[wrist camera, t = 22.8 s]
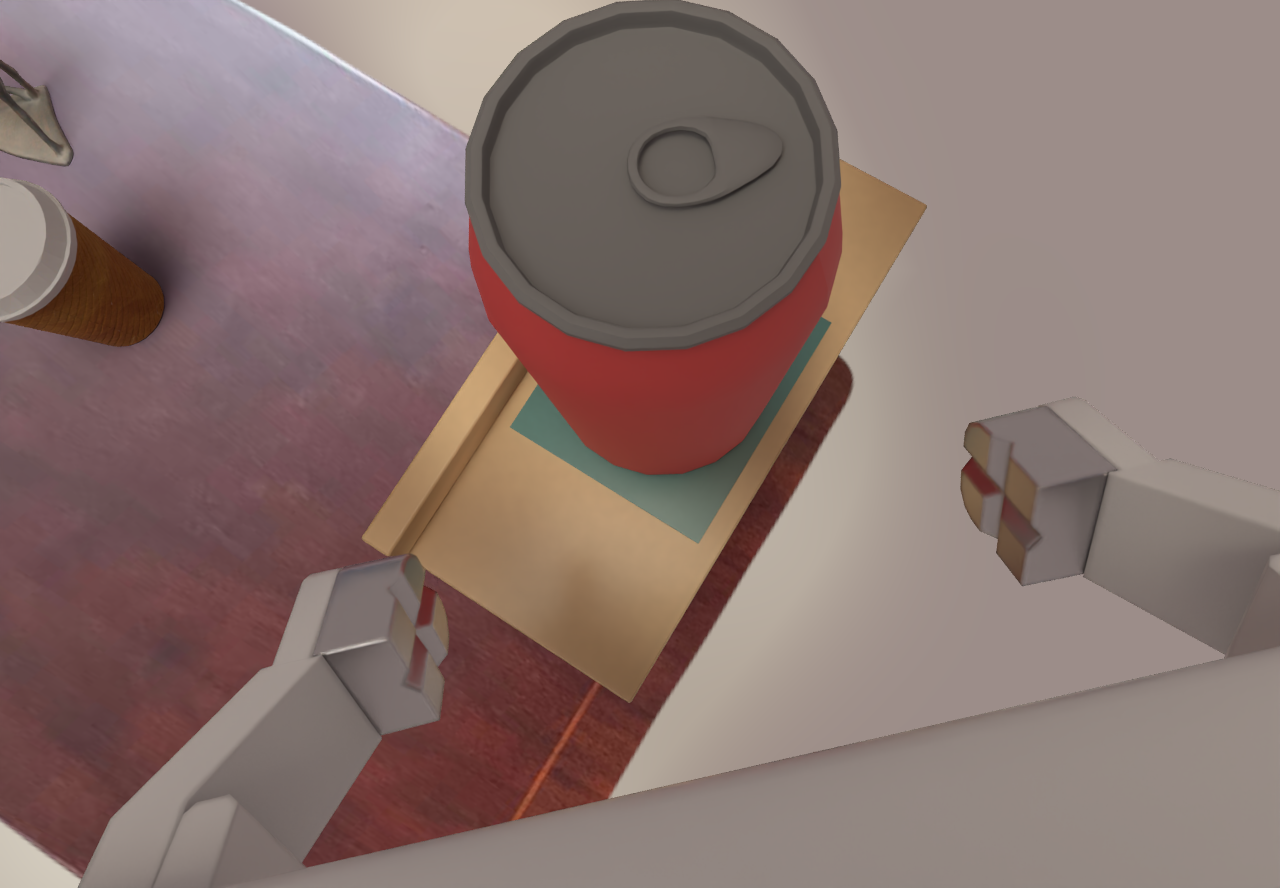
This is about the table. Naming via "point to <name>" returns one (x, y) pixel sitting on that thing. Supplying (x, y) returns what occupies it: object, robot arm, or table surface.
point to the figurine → (30, 123)
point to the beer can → (655, 224)
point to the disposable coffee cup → (68, 274)
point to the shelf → (609, 486)
